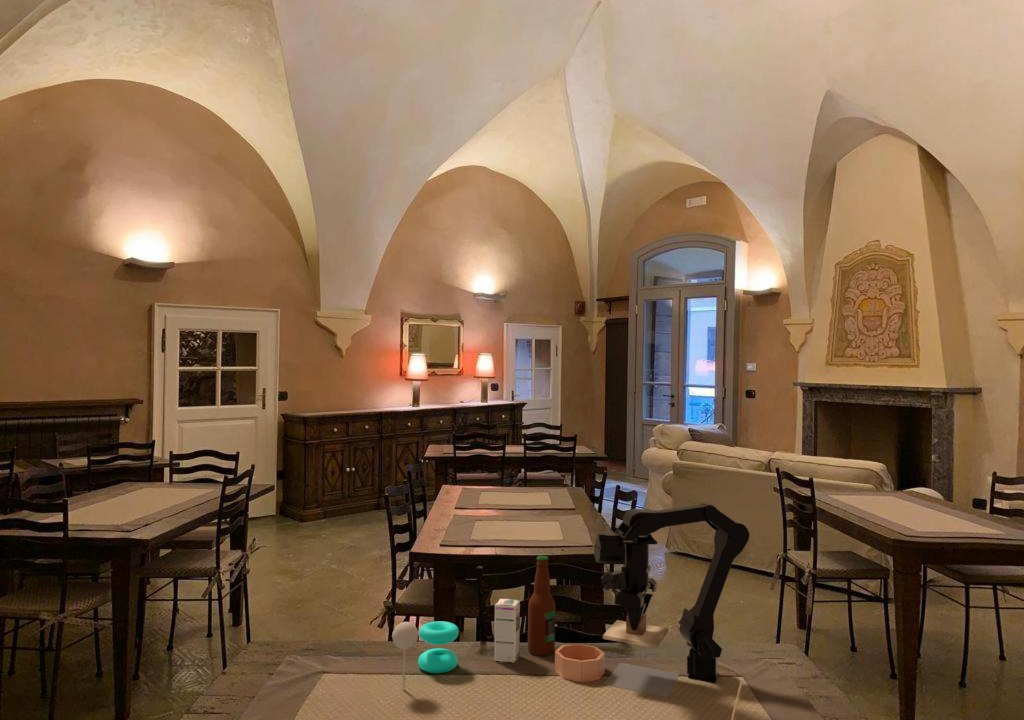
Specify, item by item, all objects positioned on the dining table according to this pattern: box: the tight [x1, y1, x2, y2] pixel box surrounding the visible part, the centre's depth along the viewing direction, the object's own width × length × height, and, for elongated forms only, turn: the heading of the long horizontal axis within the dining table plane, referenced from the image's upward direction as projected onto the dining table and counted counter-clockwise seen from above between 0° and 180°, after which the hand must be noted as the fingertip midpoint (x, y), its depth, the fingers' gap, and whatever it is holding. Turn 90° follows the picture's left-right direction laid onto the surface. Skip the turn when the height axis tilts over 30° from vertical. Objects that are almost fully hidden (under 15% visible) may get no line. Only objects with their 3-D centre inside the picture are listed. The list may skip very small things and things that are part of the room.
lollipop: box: [391, 621, 420, 691], centre depth 146 cm, size 6×6×15 cm
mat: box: [603, 662, 680, 699], centre depth 153 cm, size 15×15×1 cm
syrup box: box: [493, 598, 521, 662], centre depth 165 cm, size 6×6×14 cm
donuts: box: [417, 620, 460, 674], centre depth 159 cm, size 10×10×10 cm
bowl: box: [554, 643, 606, 683], centre depth 157 cm, size 11×11×5 cm
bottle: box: [527, 555, 556, 657], centre depth 171 cm, size 7×7×25 cm
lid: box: [602, 613, 669, 649], centre depth 154 cm, size 13×13×5 cm
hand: (636, 627), depth 154 cm, fingers closed on lid, 4 cm apart
